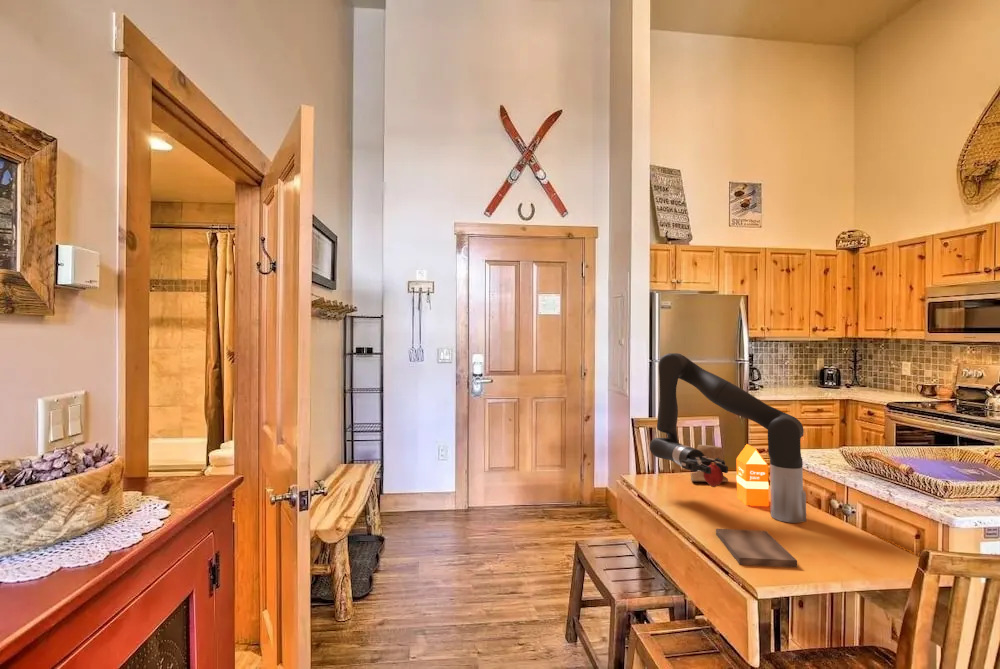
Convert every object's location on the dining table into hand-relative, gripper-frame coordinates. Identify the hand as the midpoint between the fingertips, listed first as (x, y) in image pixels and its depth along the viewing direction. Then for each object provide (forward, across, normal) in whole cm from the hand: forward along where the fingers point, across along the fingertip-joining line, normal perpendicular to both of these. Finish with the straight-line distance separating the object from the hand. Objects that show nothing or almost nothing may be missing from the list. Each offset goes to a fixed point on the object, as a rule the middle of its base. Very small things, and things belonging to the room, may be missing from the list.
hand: (718, 470), depth 153 cm
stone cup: (-46, +26, +18) cm, 56 cm away
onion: (-3, 0, +6) cm, 7 cm away
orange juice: (-19, +26, +18) cm, 37 cm away
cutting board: (+17, -1, +18) cm, 25 cm away
